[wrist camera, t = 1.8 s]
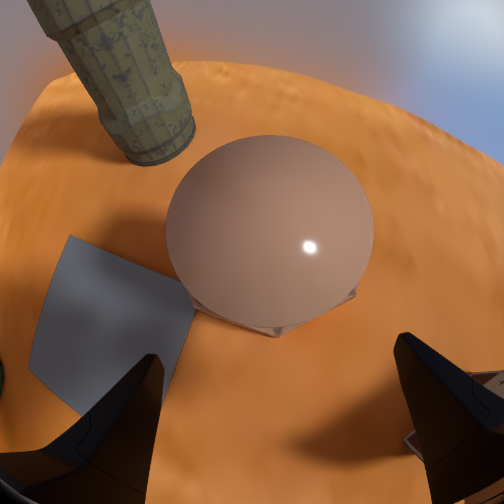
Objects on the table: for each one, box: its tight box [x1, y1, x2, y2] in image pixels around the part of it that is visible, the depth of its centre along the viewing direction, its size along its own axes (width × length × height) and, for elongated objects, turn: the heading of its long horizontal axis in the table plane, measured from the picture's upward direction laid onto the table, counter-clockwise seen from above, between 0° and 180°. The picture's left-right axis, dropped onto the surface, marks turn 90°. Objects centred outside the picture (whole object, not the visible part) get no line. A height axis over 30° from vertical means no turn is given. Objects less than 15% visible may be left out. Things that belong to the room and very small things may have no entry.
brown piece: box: [165, 135, 374, 338], centre depth 15 cm, size 7×7×13 cm
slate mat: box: [28, 235, 196, 416], centre depth 20 cm, size 16×16×1 cm
